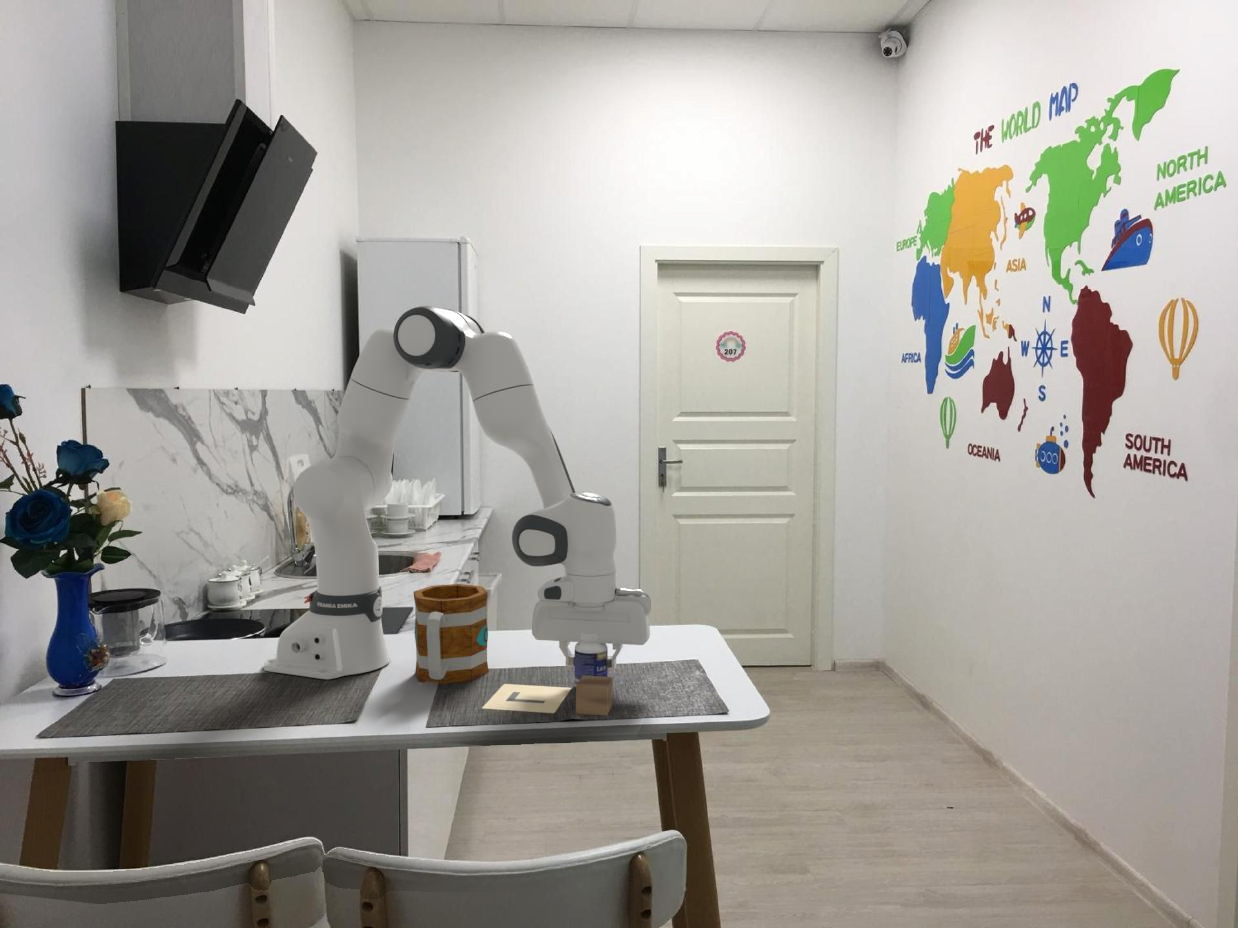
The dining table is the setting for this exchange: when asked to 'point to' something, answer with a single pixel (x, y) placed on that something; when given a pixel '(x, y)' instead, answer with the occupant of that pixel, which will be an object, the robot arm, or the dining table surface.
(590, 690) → the walnut block
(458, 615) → the mug
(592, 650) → the pill bottle
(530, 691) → the letter card
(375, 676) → the dining table surface
